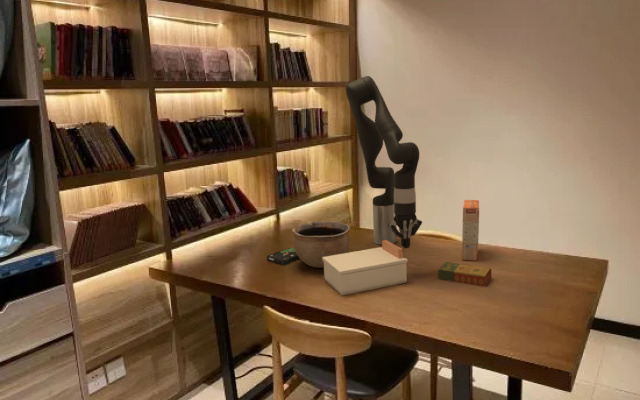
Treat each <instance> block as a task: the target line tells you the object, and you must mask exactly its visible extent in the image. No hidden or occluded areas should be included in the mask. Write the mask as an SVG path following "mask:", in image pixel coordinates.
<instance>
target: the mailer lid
mask: <svg viewBox="0 0 640 400" xmlns="http://www.w3.org/2000/svg"><path fill="white" fill-rule="evenodd" d="M403 249H404V248H403V247H400V246H398V245H396V244H395V243H391V242H389V241H387V240H383V241H382V245H381V247H373V248H368V249H362V250H357V251H351V252H347V253H344V254H338V255H332V256H326V257H322V260H323V261H324V262H326V263H327V264H328V265H329V266H330V267H331V268H333V269H334V270H335V271H336V272H337V273H339V274H340V275H341V274H346V273H352V272H357V271H363V270H368V269H373V268H379V267H384V266H390V265H395V264H400V263H406V264H407V263H408V261H409V260H408V259H407V258H406V257H404V256H403V255H404V254H403V252H404V251H403Z"/></svg>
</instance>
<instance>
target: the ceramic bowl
mask: <svg viewBox="0 0 640 400" xmlns="http://www.w3.org/2000/svg"><path fill="white" fill-rule="evenodd" d="M350 230H351V226H350V225H348V224H347V223H342V222H340V221H332V220H329V221H327V220H316V221H314V220H313V221H311V223H308V222H304V223H300V224H298V229H297V228H295V227H293V228H292V233H293V235H294V238H293V247H294V249H295V252H296V253H297V255H298V257H299V258H300V260H301V261H302V262H303V263H304V264H305V265H307V266H309V267H311V268H318V269H319V268H323V269H324V261H323V260H322V257H326V256H332V255H338V254H344V253H349V252H348V251H349V250H350V237H349V232H350Z"/></svg>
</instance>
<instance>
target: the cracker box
mask: <svg viewBox="0 0 640 400" xmlns="http://www.w3.org/2000/svg"><path fill="white" fill-rule="evenodd" d="M463 201H464V202H463V206H462V207H463V208H462V237H461V238H462V239H461V246H462V247H461V259H462V261H471V262H472V261H473V262H475V261H478V257H479V256H478V252H479V231H480V228H479V227H480V201H479V200H477V199H465V200H463Z"/></svg>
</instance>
